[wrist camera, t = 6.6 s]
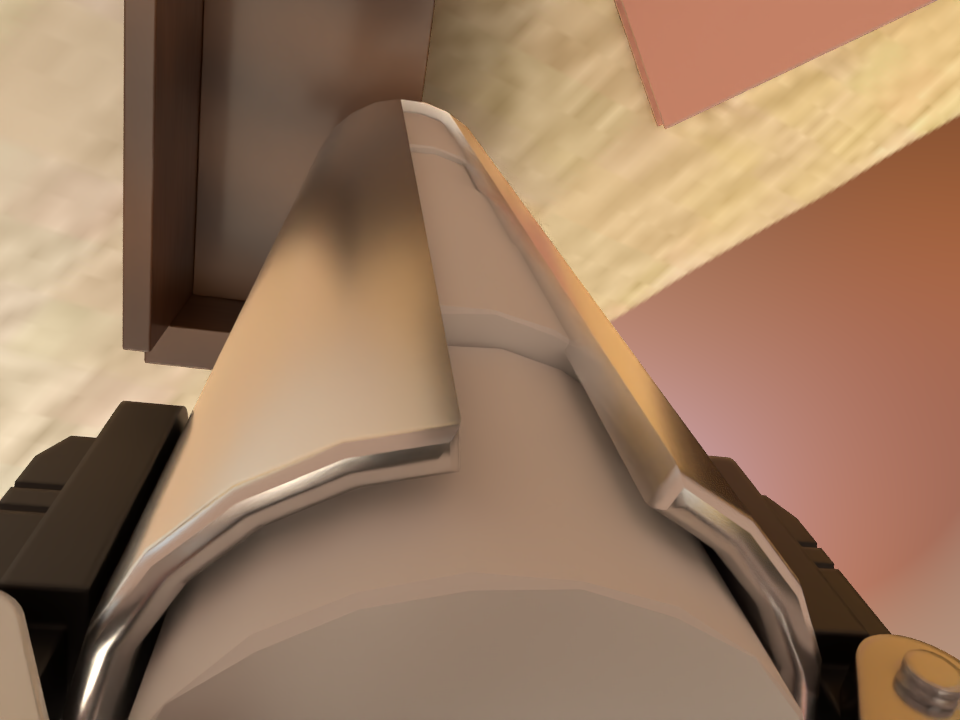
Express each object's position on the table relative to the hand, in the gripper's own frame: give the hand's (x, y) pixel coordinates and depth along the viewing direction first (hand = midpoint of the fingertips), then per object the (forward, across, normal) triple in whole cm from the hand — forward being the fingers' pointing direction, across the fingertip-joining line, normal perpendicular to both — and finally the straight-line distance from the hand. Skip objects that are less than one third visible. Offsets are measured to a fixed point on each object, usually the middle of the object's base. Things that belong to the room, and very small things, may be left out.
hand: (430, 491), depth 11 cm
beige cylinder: (+20, 0, 0) cm, 20 cm away
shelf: (+35, +4, -2) cm, 36 cm away
